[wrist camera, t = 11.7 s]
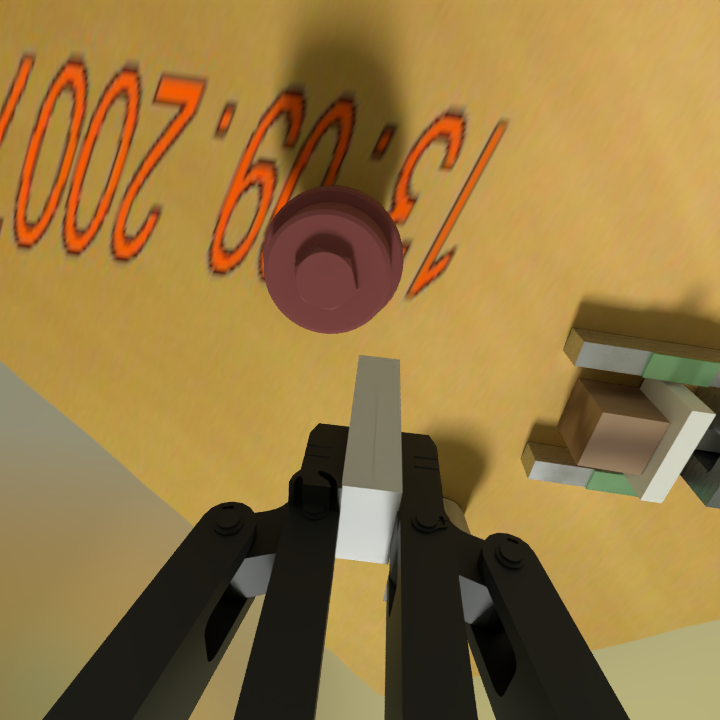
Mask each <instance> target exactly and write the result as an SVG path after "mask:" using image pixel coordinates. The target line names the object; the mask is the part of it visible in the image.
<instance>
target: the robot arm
mask: <svg viewBox="0 0 720 720" xmlns="http://www.w3.org/2000/svg"><path fill="white" fill-rule="evenodd" d="M389 557H390V571H389V576H388V581H387V585H386V590H385V595H384V600H383V601H387V607H386V664H385V720H478V716H477V709H476V701H475V694H474V686H473V679H472V671H471V664H470V656H469V649H468V643H469V646H470V649H471V651H472V654H473V657H474V660H475V662H476V665H477V668H478V671H479V674H480V676H481V679H482V682H483V685H484V687H485V690H486V693H487V696H488V699H489V701H490V704H491V707H492V710H493V712H494V715H495V718H496V720H630V719H629V718H628V715H627V714H626V712H625V711H624V708H623V707H622V705H621V703H620V701H619V700H618V698H617V696H616V694H615V693H614V691H613V689H612V688H611V686H610V684H609V682H608V681H607V679H606V677H605V675H604V673H603V672H602V670H601V668H600V666H599V665H598V663H597V661H596V659H595V658H594V656H593V654H592V652H591V651H590V649H589V647H588V645H587V644H586V642H585V640H584V638H583V637H582V635H581V633H580V631H579V630H578V628H577V626H576V624H575V623H574V621H573V619H572V617H571V616H570V614H569V612H568V610H567V609H566V607H565V605H564V603H563V602H562V600H561V598H560V596H559V594H558V593H557V591H556V589H555V587H554V586H553V584H552V582H551V580H550V579H549V577H548V575H547V573H546V572H545V570H544V568H543V566H542V565H541V563H540V561H539V559H538V558H537V556H536V554H535V553H534V551H533V550H532V549H531V548H530V546H529V545H528V544H527V543H525V542H524V541H522V540H521V539H520V538H518V537H515V536H513V535H510V534H506V533H496V534H492V535H490V536H489V537H487V538H486V539H485V540H482V539H480V538H478V537H475V536H473V535H470V534H468V533H466V532H464V531H462V530H460V529H459V528H458V527H456V526H455V525H454V524H453V523H452V522H451V521H450V518H449V517H448V515H447V514H446V512H445V509H444V503H443V495H442V486H441V478H440V471H439V462H438V454H437V447H436V445H435V444H434V442H433V441H432V439H431V438H430V436H429V435H422V434H414V433H405V432H401V399H400V360H398V359H389V358H381V357H372V356H364V355H359V361H358V368H357V375H356V383H355V390H354V398H353V405H352V412H351V420H350V427H346V426H338V425H330V424H321V423H319V424H318V425H317V426H316V427H315V428H314V429H313V430H312V431H311V432H310V435H309V439H308V443H307V447H306V451H305V456H304V459H303V463H302V467H301V470H299V471H298V472H297V473H295V474H294V475H293V476H292V478H291V480H290V481H289V499H288V502H287V503H286V504H285V505H283V506H281V507H279V508H277V509H274V510H270V511H265V512H258V513H254V512H253V511H252V509H251V508H250V507H248V506H247V505H245V504H243V503H238V502H227V503H221V504H219V505H217V506H215V507H212V508H211V509H210V510H209V511H208V512H207V513H205V514H204V516H203V517H202V518H201V519H200V521H199V522H198V523H197V524H196V526H195V527H194V528H193V530H192V531H191V532H190V533H189V535H188V536H187V537H186V538H185V540H184V541H183V542H182V543H181V545H180V546H179V547H178V548H177V550H176V551H175V552H174V554H173V555H172V556H171V557H170V559H169V560H168V561H167V563H166V564H165V565H164V566H163V568H162V569H161V570H160V571H159V573H158V574H157V575H156V576H155V578H154V579H153V580H152V581H151V583H150V584H149V585H148V586H147V588H146V589H145V590H144V591H143V593H142V594H141V595H140V597H139V598H138V599H137V600H136V602H135V603H134V604H133V605H132V607H131V608H130V609H129V611H128V612H127V613H126V614H125V616H124V617H123V618H122V619H121V621H120V622H119V623H118V625H117V626H116V627H115V628H114V630H113V631H112V632H111V633H110V635H109V636H108V637H107V638H106V640H105V641H104V642H103V643H102V645H101V646H100V647H99V648H98V650H97V651H96V652H95V654H94V655H93V656H92V657H91V659H90V660H89V661H88V663H87V664H86V665H85V666H84V667H83V669H82V670H81V671H80V673H79V674H78V675H77V676H76V678H75V679H74V680H73V682H72V683H71V684H70V685H69V687H68V688H67V689H66V690H65V692H64V693H63V694H62V696H61V697H60V698H59V699H58V700H57V702H56V703H55V704H54V705H53V707H52V708H51V709H50V711H49V712H48V713H47V714H46V716H45V717H44V718H43V720H188V719H189V717H190V715H191V714H192V712H193V710H194V708H195V706H196V704H197V703H198V701H199V699H200V697H201V695H202V694H203V692H204V689H205V688H206V686H207V685H208V682H209V681H210V679H211V677H212V675H213V673H214V672H215V670H216V668H217V666H218V664H219V663H220V661H221V659H222V657H223V655H224V653H225V652H226V650H227V648H228V646H229V644H230V642H231V641H232V639H233V637H234V635H235V633H236V632H237V630H238V628H239V626H240V624H241V622H242V620H243V619H244V617H245V615H246V613H247V612H248V610H249V608H250V606H251V604H252V603H253V601H254V599H255V596H257V595H263V594H266V595H265V599H264V603H263V607H262V611H261V615H260V619H259V622H258V626H257V630H256V634H255V638H254V642H253V646H252V650H251V654H250V658H249V662H248V665H247V669H246V673H245V677H244V681H243V685H242V689H241V693H240V697H239V701H238V705H237V708H236V712H235V716H234V720H315V715H316V708H317V700H318V692H319V684H320V676H321V668H322V660H323V652H324V644H325V636H326V628H327V620H328V612H329V604H330V596H331V588H332V580H333V571H334V562H335V558H341V559H349V560H357V561H365V562H374V563H382V564H388V562H389ZM467 640H468V641H467Z"/></svg>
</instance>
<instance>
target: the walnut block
mask: <svg viewBox="0 0 720 720" xmlns="http://www.w3.org/2000/svg"><path fill="white" fill-rule="evenodd" d="M670 424H671V423H670V422H669V421H668V420H667V418H666V417H665V416H664V415H663V414H662V413H661V412H660V411H659V410H658V409H657V408H656V406H655V405H654V404H653V403H652V402H651V401H650V400H649V399H648V398H647V397H646V396H645V394H644V393H643V392H642V391H641V390H640V389H639V388H637V387H631V386H625V385H619V384H613V383H606V382H600V381H594V380H588V379H582V378H578V380H577V382H576V384H575V387H574V389H573V391H572V394H571V396H570V398H569V400H568V403H567V405H566V407H565V410H564V412H563V414H562V416H561V419H560V421H559V423H558V425H557V428H558V430H559V432H560V434H561V436H562V438H563V440H564V442H565V443H566V445H567V447H568V449H569V451H570V453H571V455H572V456H573V458H574V460H575V462H576V464H577V465H579V466H585V467H591V468H598V469H604V470H610V471H616V472H623V473H629V474H635V475H641V474H642V472H643V470H644V469H645V467H646V465H647V463H648V462H649V460H650V458H651V457H652V455H653V453H654V451H655V450H656V448H657V446H658V445H659V443H660V441H661V439H662V438H663V436H664V434H665V433H666V431H667V429H668V427H669V426H670Z"/></svg>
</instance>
